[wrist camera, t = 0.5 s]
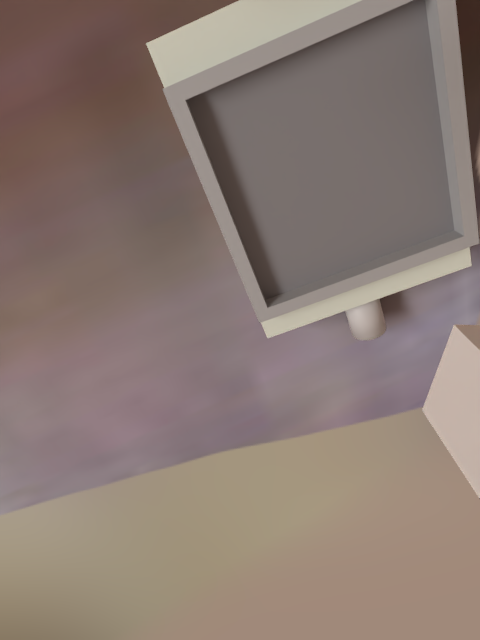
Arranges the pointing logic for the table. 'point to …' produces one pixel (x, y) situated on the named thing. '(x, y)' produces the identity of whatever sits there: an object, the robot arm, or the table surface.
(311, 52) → the open box
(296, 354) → the table surface
